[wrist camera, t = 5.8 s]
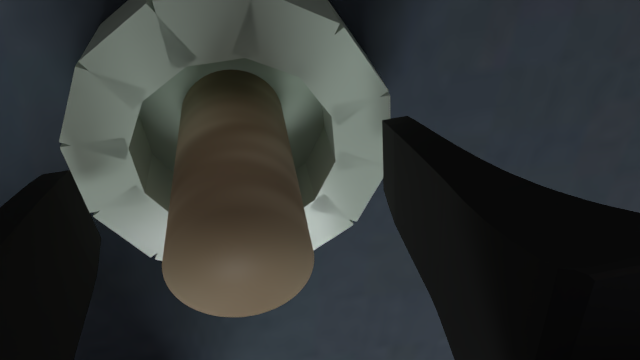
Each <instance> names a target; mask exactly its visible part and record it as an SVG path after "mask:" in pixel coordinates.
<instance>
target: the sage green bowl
mask: <svg viewBox="0 0 640 360" xmlns="http://www.w3.org/2000/svg"><path fill="white" fill-rule="evenodd" d="M231 69H232V70H241V71H246V72H249V73H252V74H254V75H257V76H258V77H260V78H262V79H263V80H265V81H266V82H267V83H268V84H269V85H270V86H271V87H272V88H273V89H274V91H275V92H276V94H277V96H278V98H279V100H280V103H281V107H282V111H283V116H284V120H285V125H286V129H287V134H288V138H289V143H290V147H291V152H292V156H293V161H294V165H295V170H296V174H297V179H298V183H299V188H300V193H301V197H302V202H303V206H304V211H305V215H306V220H307V224H308V229H309V233H310V238H311V242H312V247H313V250H315V249H317V248H318V247H320V246H321V245H323V244H324V243H326V242H327V241H329V240H331V239H332V238H334V237H335V236H337V235H338V234H340V233H341V232H343V231H345V230H346V229H348V228H349V227H351V226H352V225H354V224H353V221H357V220H358V219H359V217H360V215H361V214H362V212H363V210H364V209H365V207H366V205H367V204H368V202H369V200H370V199H371V197H372V195H373V194H374V192H375V190H376V189H377V187H378V185H379V184H380V182H381V180H382V179H383V138H382V120H386V119H390V94H389V93H388V89H387V87H386V86H385V84H384V83H383V81H382V79H381V78H380V76H379V75H378V73H377V71H376V70H375V68H374V67H373V65H372V63H371V62H370V60H369V59H368V57H367V55H366V54H365V52H364V51H363V49H362V48H361V47H360V45H359V44H358V42H357V41H356V39H355V38H354V37H353V35H352V34H351V32H350V31H349V29H348V28H347V26H346V25H345V24H344V22H343V21H342V19H341V18H340V16H339V15H338V13H337V12H336V11H335V9H334V8H333V6H332V5H331V3H330V2H329V1H328V0H128V1H127V2H126V3H124V4H123V5H122V6H121V7H120V8H119V9H117V10H116V11H115V12H114V13H113V14H112V15H111V16H109V17H108V18H107V19H106V20H105V21H104V22H102V23H101V24H100V26H99V27H98V29H97V31H96V32H95V34H94V36H93V37H92V39H91V41H90V43H89V44H88V46H87V48H86V49H85V51H84V53H83V54H82V56H81V58H80V59H79V61H78V63H77V64H76V66H75V70H74V74H73V79H72V84H71V88H70V93H69V98H68V102H67V107H66V112H65V116H64V121H63V126H62V130H61V135H60V140H59V142H60V143H62V144H61V146H60V149H61V151H62V154H63V156H64V158H65V160H66V162H67V164H68V167H69V169H70V171H71V173H72V175H73V178H74V180H75V182H76V184H77V186H78V188H79V191H80V193H81V195H82V197H83V199H84V202H85V204H86V206H87V208H88V210H89V212H90V213H91V212H94V214H93V217H94V218H96V219H97V220H98V221H100V222H101V223H103V224H104V225H105V226H107V227H108V228H110V229H111V230H112V231H114V232H115V233H117V234H118V235H120V236H121V237H122V238H124V239H125V240H127V241H128V242H129V243H131V244H132V245H134V246H135V247H136V248H138V249H139V250H141V251H142V252H143V253H145V254H146V255H148V256H149V257H150V258H151V257H152V256H154V255H155V254H156V256H155V260H160V261H162V259H163V252H164V244H165V236H166V228H167V220H168V212H169V204H170V196H171V189H172V181H173V173H174V165H175V157H176V149H177V141H178V134H179V126H180V118H181V110H182V104H183V101H184V98H185V96H186V94H187V92H188V91H189V89H190V88H191V87H192V86H193V85H194V84H195V83H196V82H197V81H198V80H199V79H201V78H203V77H204V76H206V75H208V74H210V73H213V72H216V71H221V70H231ZM352 220H353V221H352Z"/></svg>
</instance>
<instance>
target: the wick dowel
mask: <svg viewBox="0 0 640 360" xmlns="http://www.w3.org/2000/svg"><path fill="white" fill-rule="evenodd" d="M313 265H314V252H313V247H312V242H311V238H310V233H309V229H308V224H307V220H306V215H305V211H304V206H303V202H302V197H301V193H300V188H299V183H298V179H297V174H296V170H295V165H294V161H293V156H292V152H291V147H290V143H289V138H288V134H287V129H286V125H285V120H284V116H283V111H282V107H281V103H280V100H279V98H278V96H277V94H276V92H275V91H274V89H273V88H272V87H271V86H270V85H269V84H268V83H267V82H266V81H265V80H263V79H262V78H260V77H258V76H257V75H254V74H252V73H249V72H246V71H241V70H232V69H231V70H221V71H216V72H213V73H210V74H208V75H206V76H204V77H203V78H201V79H199V80H198V81H197V82H196V83H195V84H194V85H193V86H192V87H191V88H190V89H189V91H188V92H187V94H186V96H185V98H184V101H183V104H182V110H181V118H180V126H179V134H178V141H177V149H176V157H175V165H174V173H173V181H172V189H171V196H170V204H169V212H168V220H167V228H166V236H165V244H164V252H163V259H162V273H163V277H164V280H165V282H166V284H167V286H168V288H169V289H170V291H171V292H172V293H173V294H174V295H175V297H176V298H178V299H179V300H180V301H181V302H182V303H184V304H186V305H187V306H189V307H191V308H193V309H195V310H197V311H200V312H203V313H206V314H210V315H214V316H221V317H245V316H252V315H257V314H261V313H264V312H267V311H270V310H272V309H275V308H277V307H279V306H281V305H283V304H285V303H286V302H288V301H289V300H291V299H292V298H293V297H294V296H295V295H297V294H298V293H299V292H300V291H301V289H302V288H303V287H304V286H305V284H306V283H307V281H308V279H309V278H310V276H311V273H312V270H313Z"/></svg>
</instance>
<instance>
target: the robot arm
mask: <svg viewBox="0 0 640 360" xmlns="http://www.w3.org/2000/svg"><path fill="white" fill-rule="evenodd" d="M382 138H383V182H384V192H385V196H386V199H387V202H388V205H389V208H390V211H391V214H392V217H393V220H394V223H395V225H396V227H397V229H398V231H399V233H400V235H401V237H402V239H403V241H404V243H405V246H406V248H407V250H408V252H409V254H410V256H411V258H412V260H413V262H414V264H415V266H416V268H417V270H418V272H419V274H420V276H421V278H422V280H423V282H424V284H425V286H426V288H427V290H428V292H429V294H430V296H431V298H432V301H433V303H434V305H435V307H436V310H437V312H438V315H439V318H440V320H441V323H442V326H443V329H444V331H445V334H446V337H447V340H448V342H449V345H450V348H451V351H452V354H453V356H454V359H455V360H640V213H638V212H633V211H629V210H624V209H620V208H615V207H611V206H607V205H603V204H599V203H595V202H591V201H588V200H584V199H581V198H578V197H574V196H571V195H568V194H565V193H561V192H558V191H555V190H552V189H549V188H546V187H543V186H541V185H538V184H536V183H533V182H531V181H528V180H526V179H523V178H521V177H518V176H516V175H513V174H511V173H509V172H506V171H504V170H502V169H500V168H498V167H496V166H494V165H492V164H490V163H488V162H486V161H484V160H482V159H480V158H478V157H476V156H474V155H472V154H471V153H469V152H467V151H465V150H463V149H462V148H460V147H458V146H456V145H455V144H453V143H451V142H450V141H448V140H446V139H445V138H443V137H441V136H440V135H438V134H437V133H435V132H433V131H432V130H430V129H428V128H427V127H425V126H424V125H422V124H420V123H419V122H417V121H415V120H414V119H412V118H410V117H408V116H405V117H399V118H392V119H386V120H382ZM100 244H101V237H100V235H99V233H98V230H97V228H96V226H95V224H94V222H93V219H92V217H91V215H90V213H89V211H88V209H87V206H86V204H85V202H84V200H83V198H82V196H81V193H80V191H79V189H78V187H77V185H76V182H75V180H74V178H73V176H72V174H71V172H70V170H68V171H62V172H55V173H49V174H43V175H41V176H39V177H38V178H36V179H35V180H34V181H32V182H31V183H30V184H28V185H27V186H26V187H24V188H23V189H22V190H21V191H20V192H18V193H17V194H16V195H15V196H13V197H12V198H11V199H10V200H9V201H8V202H6V203H5V204H4V205H3V206H2V207H0V360H74V356H75V353H76V349H77V346H78V342H79V338H80V335H81V331H82V328H83V324H84V321H85V317H86V314H87V310H88V307H89V303H90V299H91V296H92V292H93V288H94V285H95V281H96V277H97V270H98V263H99V254H100Z"/></svg>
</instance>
